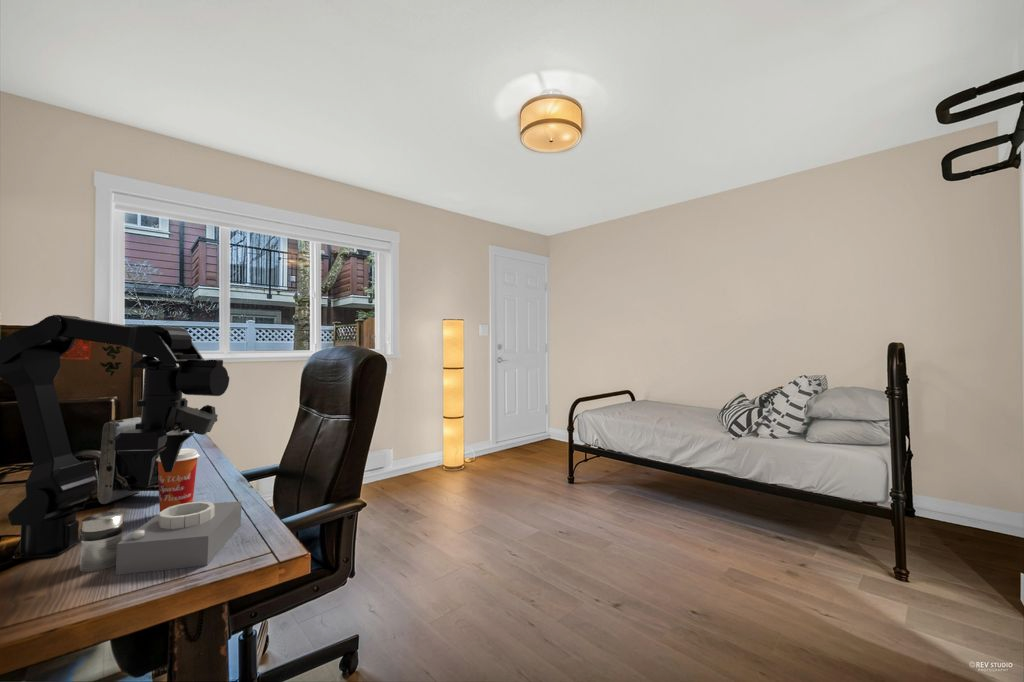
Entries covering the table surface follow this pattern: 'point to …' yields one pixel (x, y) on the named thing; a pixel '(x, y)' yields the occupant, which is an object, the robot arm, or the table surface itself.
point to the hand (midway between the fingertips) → (157, 478)
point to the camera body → (179, 537)
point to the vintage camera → (119, 466)
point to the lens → (100, 540)
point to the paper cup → (178, 480)
